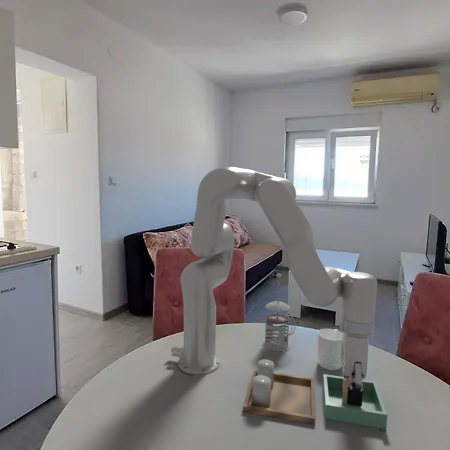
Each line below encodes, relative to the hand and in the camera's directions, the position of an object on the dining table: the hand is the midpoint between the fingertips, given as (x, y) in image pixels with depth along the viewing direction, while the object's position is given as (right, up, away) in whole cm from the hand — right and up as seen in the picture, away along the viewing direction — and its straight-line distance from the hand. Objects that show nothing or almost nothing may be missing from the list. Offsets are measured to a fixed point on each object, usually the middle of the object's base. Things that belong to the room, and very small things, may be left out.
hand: (352, 394), depth 81 cm
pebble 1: (-20, -2, +8) cm, 22 cm away
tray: (-17, -3, +3) cm, 17 cm away
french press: (-13, 0, +31) cm, 34 cm away
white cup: (+1, -2, +20) cm, 20 cm away
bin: (0, -4, 0) cm, 4 cm away
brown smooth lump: (0, -3, 0) cm, 3 cm away
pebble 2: (-22, -2, +1) cm, 22 cm away
